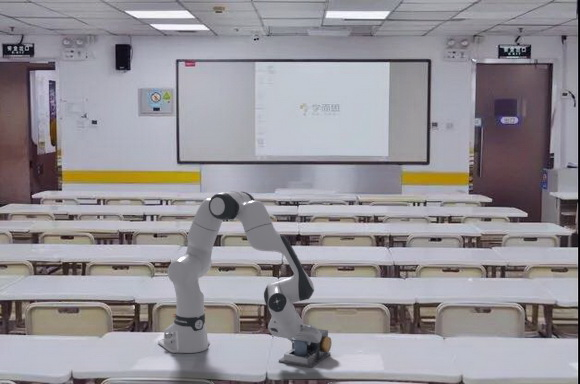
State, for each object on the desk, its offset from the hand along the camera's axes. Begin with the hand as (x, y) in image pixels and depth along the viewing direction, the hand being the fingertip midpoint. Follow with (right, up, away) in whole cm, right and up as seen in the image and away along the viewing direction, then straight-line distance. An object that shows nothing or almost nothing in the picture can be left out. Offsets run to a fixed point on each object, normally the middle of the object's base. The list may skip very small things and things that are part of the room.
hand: (301, 342), depth 290 cm
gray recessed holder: (+2, -7, +4) cm, 8 cm away
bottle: (0, -5, 0) cm, 5 cm away
